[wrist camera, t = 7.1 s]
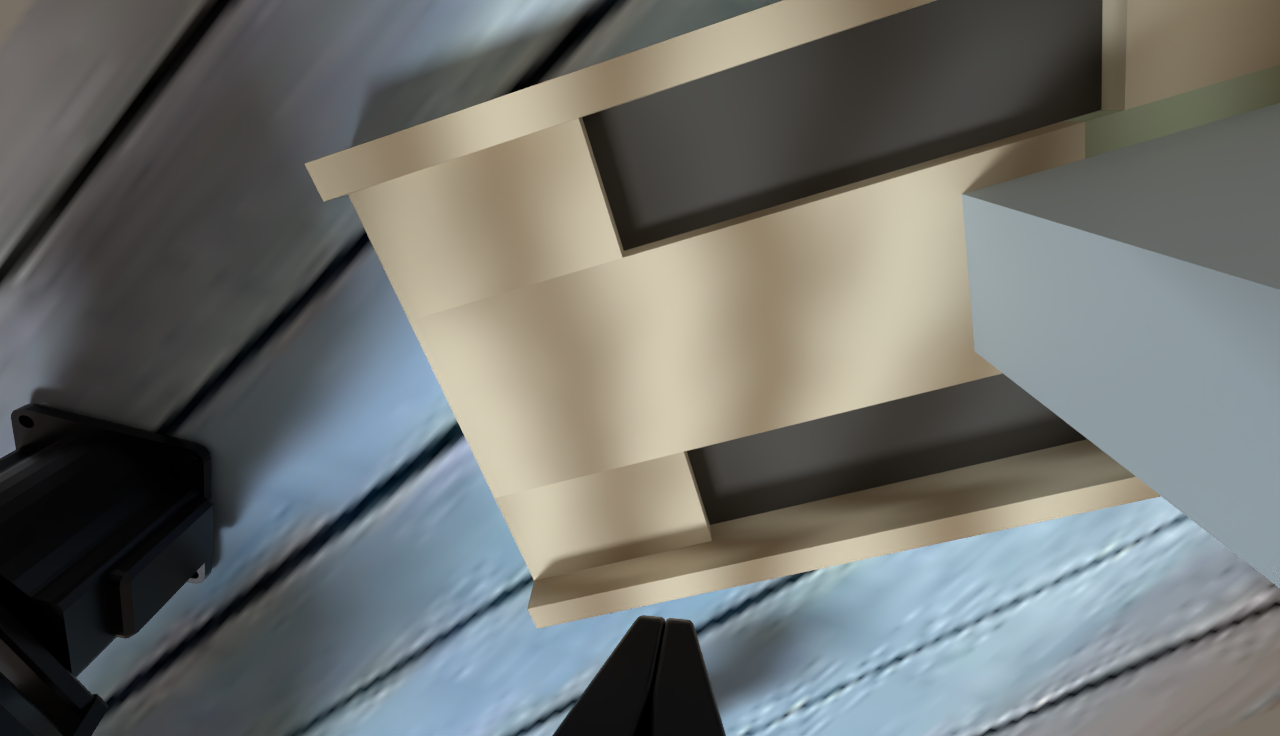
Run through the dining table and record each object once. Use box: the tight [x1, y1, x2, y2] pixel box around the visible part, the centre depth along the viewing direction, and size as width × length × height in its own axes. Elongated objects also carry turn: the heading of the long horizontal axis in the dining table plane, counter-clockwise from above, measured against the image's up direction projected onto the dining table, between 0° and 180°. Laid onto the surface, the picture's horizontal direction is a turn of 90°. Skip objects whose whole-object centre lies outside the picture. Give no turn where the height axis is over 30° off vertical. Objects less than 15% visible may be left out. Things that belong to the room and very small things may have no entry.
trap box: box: [305, 0, 1280, 629], centre depth 18 cm, size 30×17×2 cm, turn 107°
